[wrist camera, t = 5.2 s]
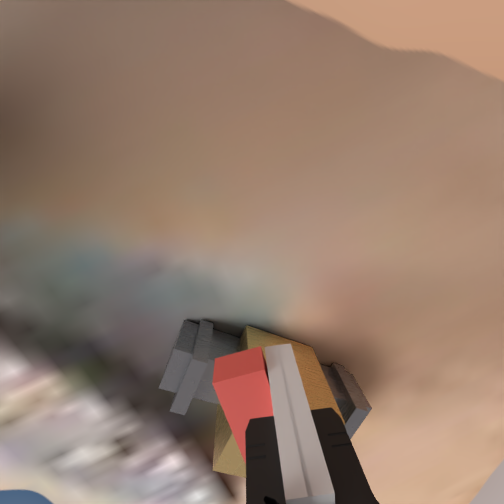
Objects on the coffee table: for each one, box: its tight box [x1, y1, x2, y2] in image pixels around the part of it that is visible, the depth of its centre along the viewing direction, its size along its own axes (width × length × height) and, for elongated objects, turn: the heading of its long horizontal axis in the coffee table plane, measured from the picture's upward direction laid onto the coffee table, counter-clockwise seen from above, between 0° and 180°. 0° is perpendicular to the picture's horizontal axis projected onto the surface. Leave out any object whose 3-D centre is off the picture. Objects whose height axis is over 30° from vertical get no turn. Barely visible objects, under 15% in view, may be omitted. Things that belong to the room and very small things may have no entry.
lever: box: [212, 346, 274, 464], centre depth 14 cm, size 12×4×2 cm, turn 15°
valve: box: [159, 319, 372, 478], centre depth 21 cm, size 18×7×10 cm, turn 67°
